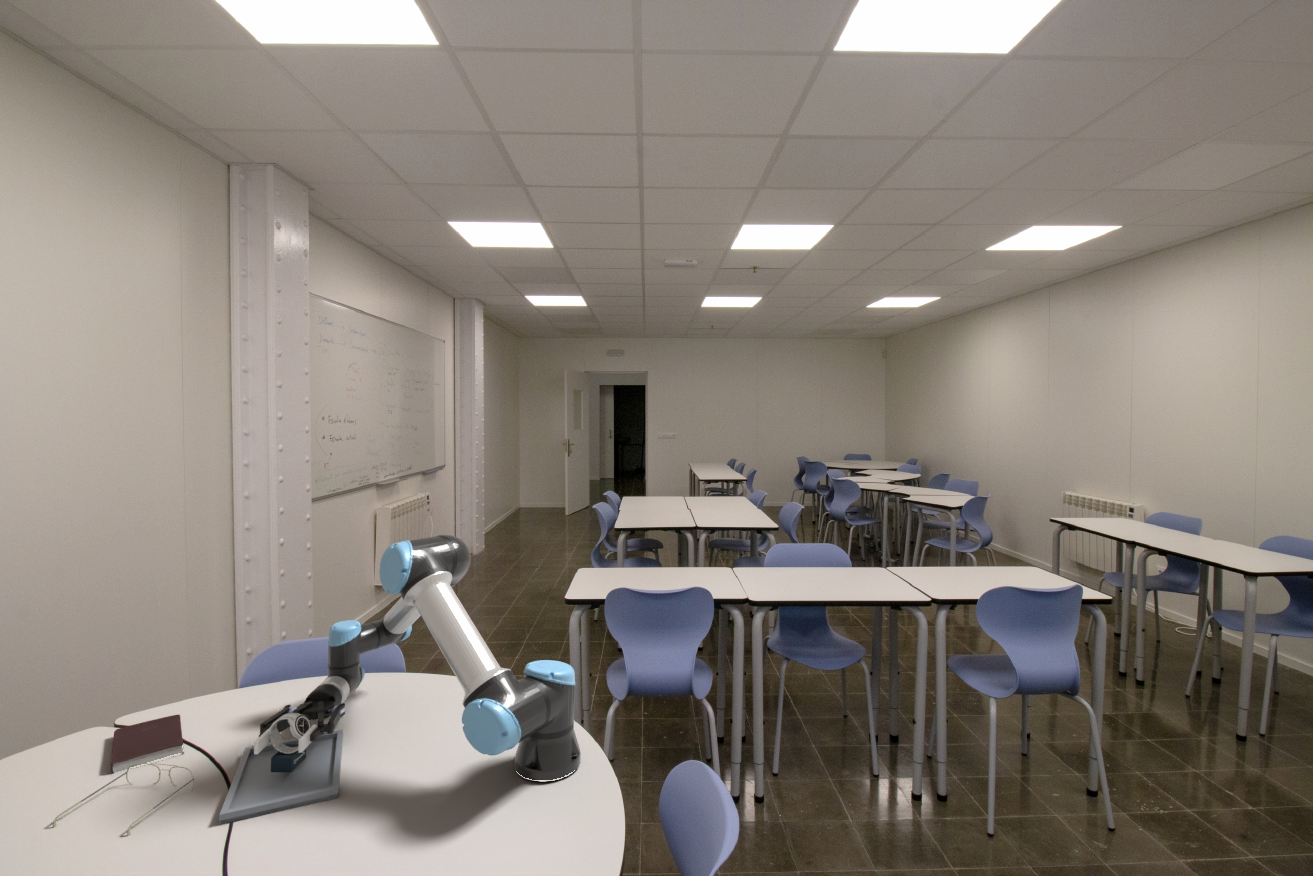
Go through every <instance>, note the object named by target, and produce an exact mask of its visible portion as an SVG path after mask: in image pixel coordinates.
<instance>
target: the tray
mask: <svg viewBox="0 0 1313 876" xmlns="http://www.w3.org/2000/svg"><path fill="white" fill-rule="evenodd" d="M283 741H284V743H283V744H284V745H286V744H299V740H298V739H297V738H295V737H294V738H291V739H286V740H283ZM343 741H344V729H340V730H334V732H333V733H331V734H328V733H327V732H325V733H324V734H323V735H320V736H319V738H318V739H317V740H315V741H312V742H311V743H310V744H309V745H308V747H307V748H306V759H305V760H303V761H302V762H301V763H300V764H299V765H298V766H297V767H296V768H295V769H294V770H293V771H292V772H271V758H272V757H273V756H274V755H275V754H276V753H277V752H278V750H275V748H274V747H273V745H272V743H271V742H270V743H269V744H268V745H267V746H266V747H265V748H264V749H263V750H262V751H261V752H260V753H259V754H254V745H252V746H248V747H245V748H244V751H243V753H242V754H241V755H242V756H241V757H240V761H239V764H238V765H237V768H236V771H235V774H234V776H233V779H232V782H231V784H230V786H229V789H228V791H227V795H226V797H225V800H224V802H223V804H222V807H221V810H220V812H219V819H218V825H219V826H221V825H225V824H226V825H227V824H231V823H234V822H239V821H244V820H248V819H252V818H256V817H261V816H265V815H268V814H274V813H278V812H282V811H285V810H292V809H295V808H299V807H304V806H309V805H313V804H317V803H321V802H326V801H330V800H334V799H338V798H339V790H340V778H341V767H342V756H343V754H342V753H343ZM281 747H282V746H281Z"/></svg>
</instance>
